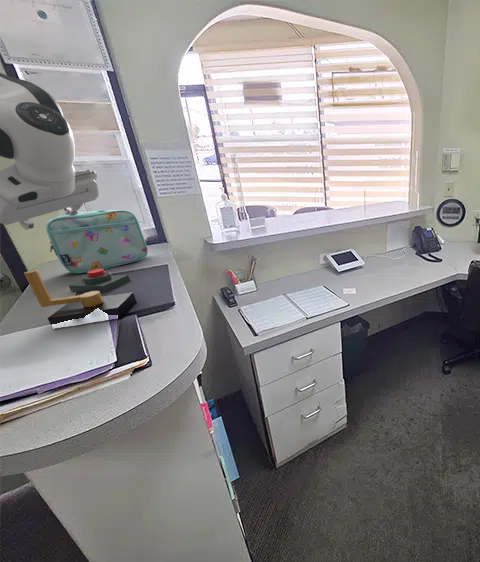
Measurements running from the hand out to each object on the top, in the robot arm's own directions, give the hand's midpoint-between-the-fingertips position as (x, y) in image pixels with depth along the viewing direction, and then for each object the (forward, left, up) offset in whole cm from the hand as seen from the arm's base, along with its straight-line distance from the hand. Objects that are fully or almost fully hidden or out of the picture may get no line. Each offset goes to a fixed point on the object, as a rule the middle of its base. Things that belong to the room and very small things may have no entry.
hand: (50, 219), depth 77 cm
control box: (-9, +12, -24) cm, 28 cm away
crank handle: (+6, -7, -20) cm, 22 cm away
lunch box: (-26, +31, -24) cm, 47 cm away
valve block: (+9, -6, -24) cm, 26 cm away
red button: (-9, +12, -20) cm, 25 cm away
